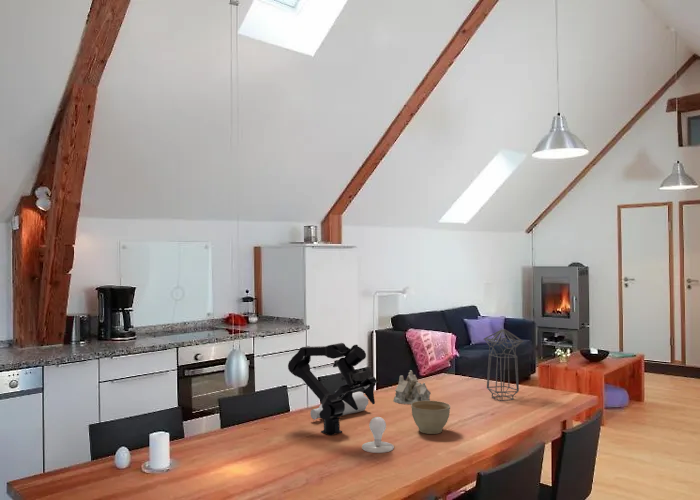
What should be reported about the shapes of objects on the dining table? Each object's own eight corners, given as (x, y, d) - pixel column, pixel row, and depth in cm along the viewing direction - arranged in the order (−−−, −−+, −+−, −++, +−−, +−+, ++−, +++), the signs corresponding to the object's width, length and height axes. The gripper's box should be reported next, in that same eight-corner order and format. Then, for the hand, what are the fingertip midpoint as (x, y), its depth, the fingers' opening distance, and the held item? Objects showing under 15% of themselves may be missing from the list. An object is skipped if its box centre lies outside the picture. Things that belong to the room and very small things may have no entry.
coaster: (355, 447, 229) (355, 446, 229) (377, 440, 237) (377, 439, 237) (377, 455, 220) (377, 453, 220) (400, 447, 228) (400, 446, 228)
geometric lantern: (481, 396, 310) (481, 328, 310) (508, 394, 314) (508, 327, 315) (497, 403, 295) (498, 331, 295) (525, 401, 299) (525, 330, 300)
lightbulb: (377, 449, 224) (377, 420, 225) (366, 445, 229) (365, 417, 229) (389, 446, 229) (389, 417, 229) (378, 442, 233) (377, 413, 233)
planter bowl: (449, 438, 240) (449, 410, 240) (409, 435, 243) (409, 408, 244) (451, 426, 256) (451, 401, 256) (413, 424, 259) (412, 399, 259)
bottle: (354, 400, 289) (304, 414, 269) (360, 386, 285) (311, 399, 265) (365, 414, 283) (315, 429, 263) (372, 400, 280) (322, 414, 259)
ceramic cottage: (389, 399, 303) (391, 370, 303) (416, 397, 311) (418, 368, 310) (406, 408, 289) (408, 377, 289) (434, 405, 297) (436, 375, 296)
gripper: (341, 367, 231) (359, 404, 225) (375, 357, 244) (393, 392, 238) (326, 380, 238) (344, 416, 232) (360, 370, 251) (378, 404, 245)
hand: (365, 406), depth 237 cm, fingers open, 9 cm apart
